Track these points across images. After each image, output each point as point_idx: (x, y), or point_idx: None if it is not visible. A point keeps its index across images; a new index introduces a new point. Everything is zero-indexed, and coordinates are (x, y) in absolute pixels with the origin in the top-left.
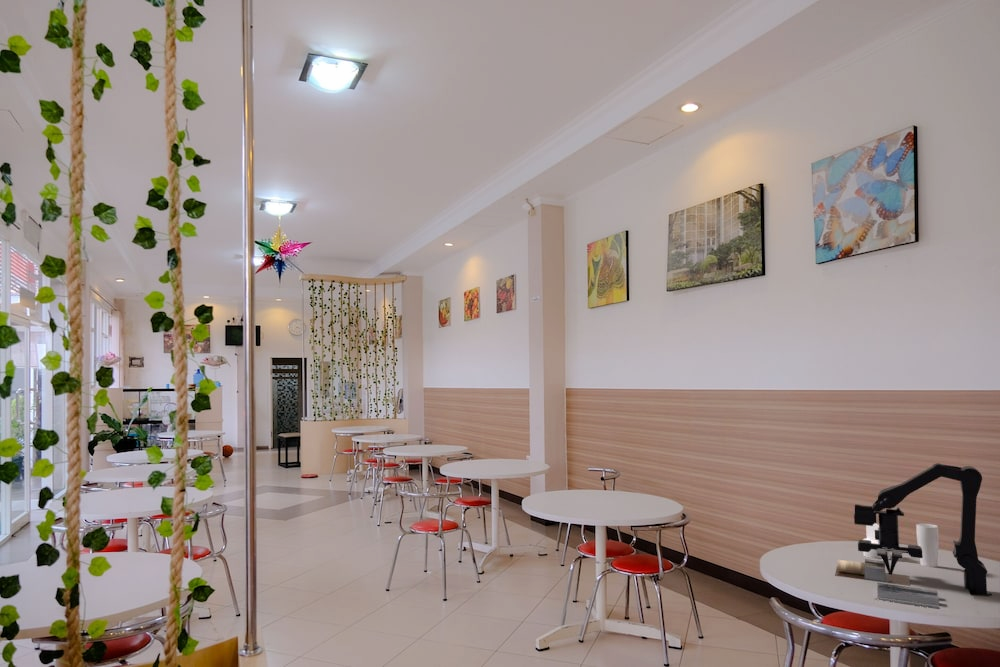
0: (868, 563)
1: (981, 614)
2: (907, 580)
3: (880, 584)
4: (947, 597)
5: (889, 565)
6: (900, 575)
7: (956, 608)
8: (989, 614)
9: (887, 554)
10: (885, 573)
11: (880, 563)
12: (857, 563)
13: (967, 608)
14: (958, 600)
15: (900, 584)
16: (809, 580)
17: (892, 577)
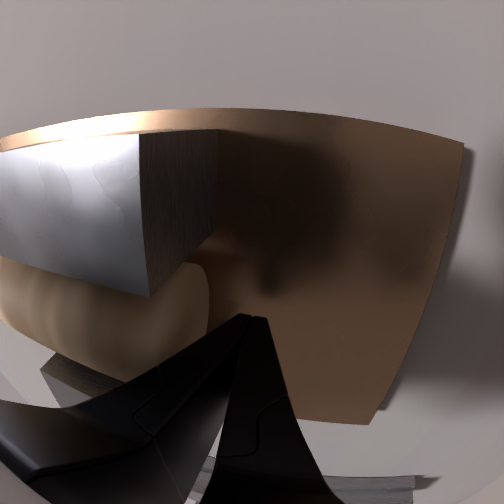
0: (36, 331)
1: (462, 495)
2: (400, 329)
3: (198, 498)
4: (478, 440)
5: (217, 387)
6: (380, 164)
7: (428, 495)
8: (482, 487)
9: (114, 496)
10: (219, 143)
11: (102, 280)
12: (1, 320)
13: (461, 484)
14: (492, 447)
15: (311, 419)
16: (6, 349)
17: (281, 278)
